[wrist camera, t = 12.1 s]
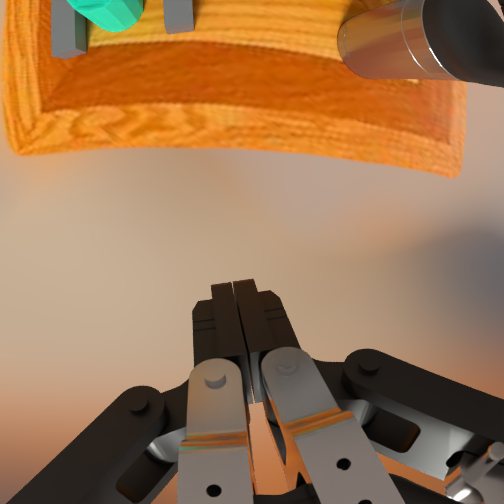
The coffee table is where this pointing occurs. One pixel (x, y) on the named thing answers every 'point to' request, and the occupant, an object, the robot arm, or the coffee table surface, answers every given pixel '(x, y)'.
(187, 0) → the grey u-shaped frame
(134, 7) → the candle
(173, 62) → the coffee table surface
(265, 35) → the coffee table surface
